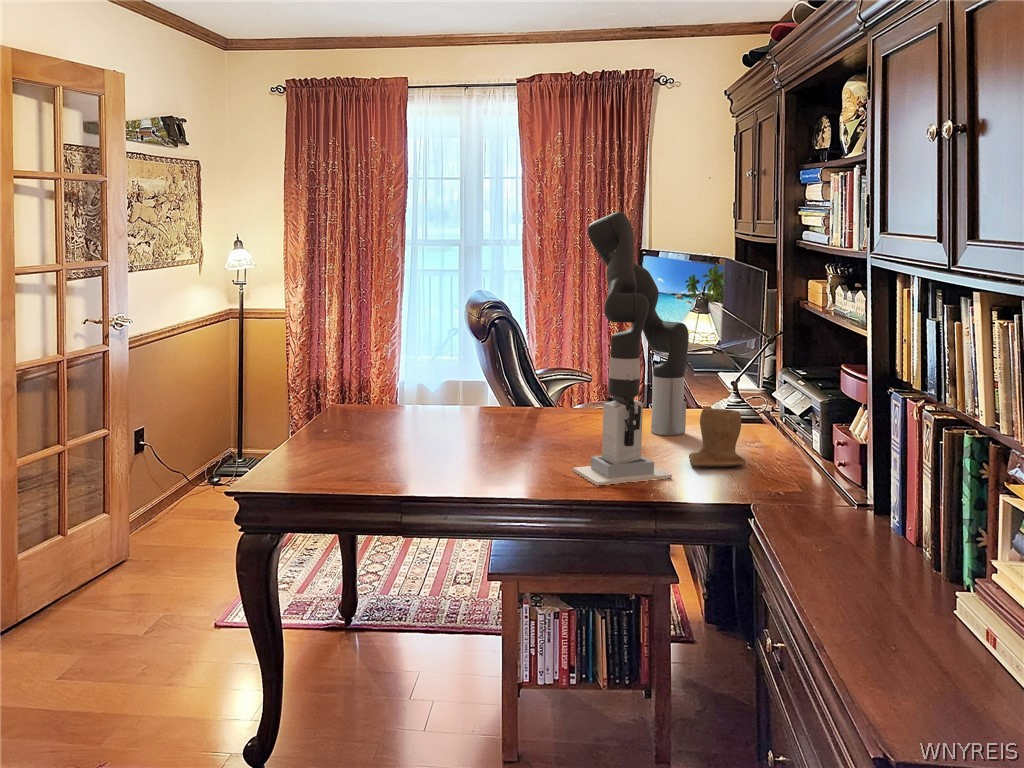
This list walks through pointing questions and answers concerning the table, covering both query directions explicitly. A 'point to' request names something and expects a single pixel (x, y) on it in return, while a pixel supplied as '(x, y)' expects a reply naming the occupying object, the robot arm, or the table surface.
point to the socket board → (620, 471)
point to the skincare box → (619, 434)
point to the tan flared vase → (718, 439)
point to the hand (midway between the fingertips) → (622, 442)
